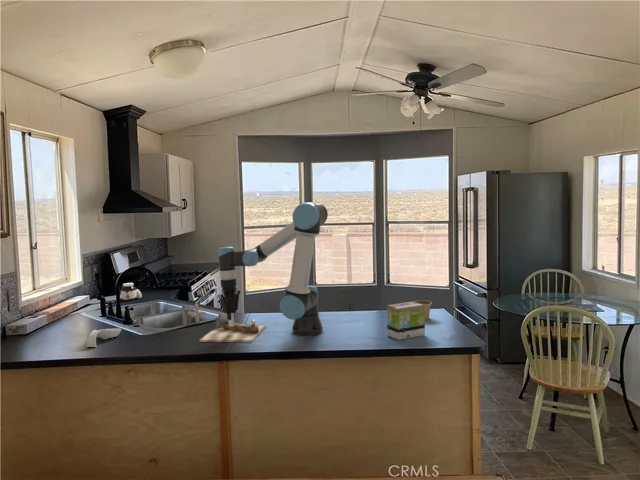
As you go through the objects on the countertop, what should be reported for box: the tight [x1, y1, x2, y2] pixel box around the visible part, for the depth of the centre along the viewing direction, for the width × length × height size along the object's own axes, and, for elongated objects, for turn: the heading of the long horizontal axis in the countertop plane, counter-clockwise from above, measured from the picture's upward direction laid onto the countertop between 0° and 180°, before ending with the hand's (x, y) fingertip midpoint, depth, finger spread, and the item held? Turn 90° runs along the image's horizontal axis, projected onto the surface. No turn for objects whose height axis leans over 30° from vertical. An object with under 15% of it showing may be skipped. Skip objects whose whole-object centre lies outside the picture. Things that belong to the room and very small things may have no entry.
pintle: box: [250, 319, 256, 326], centre depth 233 cm, size 2×2×3 cm
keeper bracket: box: [215, 316, 236, 328], centre depth 245 cm, size 11×3×5 cm, turn 56°
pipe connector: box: [187, 304, 207, 324], centre depth 262 cm, size 10×10×10 cm
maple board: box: [199, 325, 267, 343], centre depth 235 cm, size 26×25×1 cm
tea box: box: [386, 301, 426, 341], centre depth 221 cm, size 15×10×15 cm
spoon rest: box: [85, 327, 122, 348], centre depth 233 cm, size 24×12×7 cm, turn 179°
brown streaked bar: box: [221, 322, 259, 333], centre depth 238 cm, size 22×5×3 cm, turn 58°
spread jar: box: [120, 282, 143, 302], centre depth 336 cm, size 12×11×12 cm
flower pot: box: [414, 300, 433, 320], centre depth 252 cm, size 9×9×9 cm
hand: (231, 325), depth 233 cm, fingers closed
